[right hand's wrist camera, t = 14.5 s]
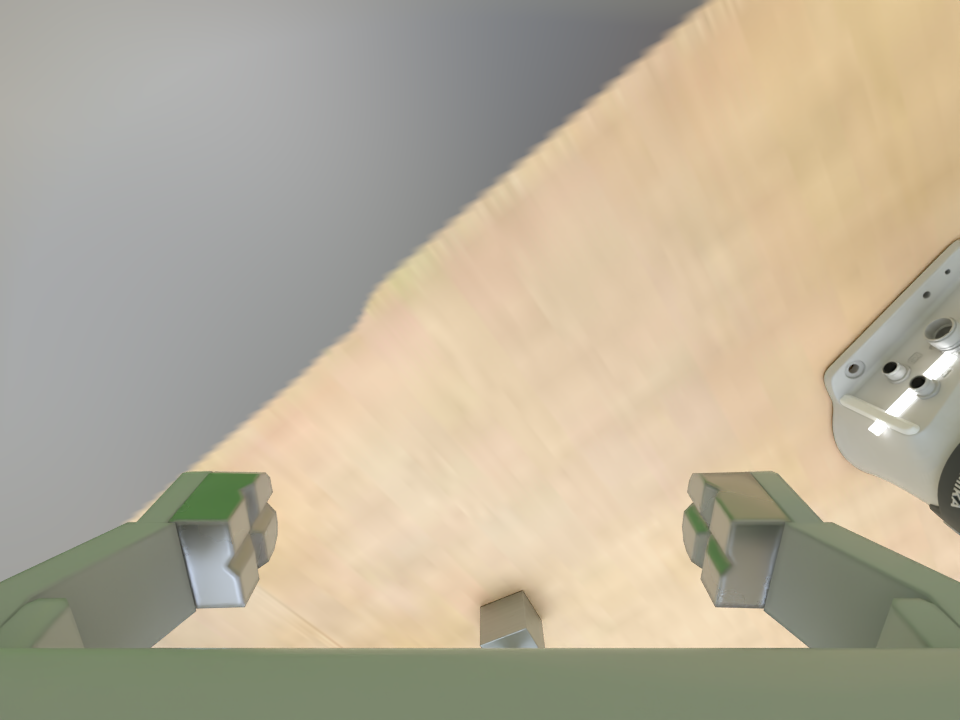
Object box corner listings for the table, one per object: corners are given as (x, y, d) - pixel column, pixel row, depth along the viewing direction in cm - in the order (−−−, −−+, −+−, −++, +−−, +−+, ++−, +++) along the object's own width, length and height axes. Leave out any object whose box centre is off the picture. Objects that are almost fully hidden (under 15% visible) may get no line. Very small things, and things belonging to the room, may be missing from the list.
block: (479, 606, 58) (479, 645, 53) (522, 590, 57) (526, 628, 52) (499, 636, 59) (501, 677, 55) (541, 621, 58) (546, 660, 54)
